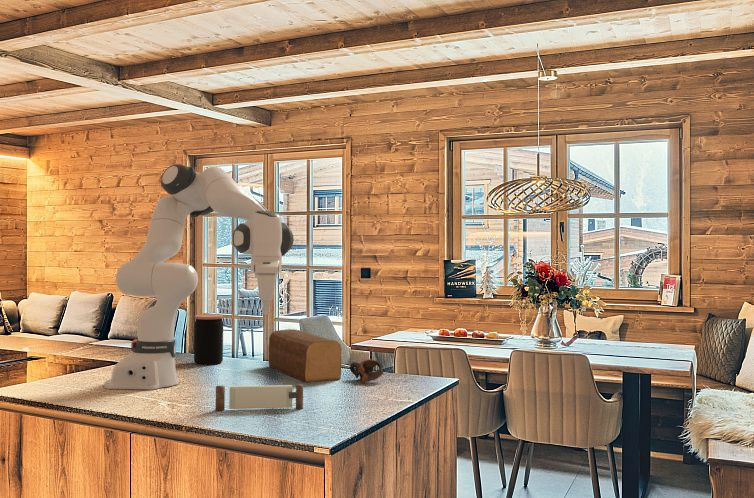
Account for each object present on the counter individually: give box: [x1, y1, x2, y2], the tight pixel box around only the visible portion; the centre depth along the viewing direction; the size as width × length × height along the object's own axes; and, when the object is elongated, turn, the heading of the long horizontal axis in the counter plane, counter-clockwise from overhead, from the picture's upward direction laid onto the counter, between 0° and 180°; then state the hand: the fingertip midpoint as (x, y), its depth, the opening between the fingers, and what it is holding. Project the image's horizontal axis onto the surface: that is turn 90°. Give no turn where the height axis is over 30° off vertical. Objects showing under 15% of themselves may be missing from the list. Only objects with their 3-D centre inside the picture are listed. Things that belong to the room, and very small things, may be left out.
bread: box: [268, 328, 343, 383], centre depth 249 cm, size 14×34×14 cm, turn 30°
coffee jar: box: [193, 313, 224, 366], centre depth 266 cm, size 11×11×18 cm
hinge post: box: [214, 385, 226, 412], centre depth 191 cm, size 2×2×6 cm
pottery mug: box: [349, 358, 384, 385], centre depth 236 cm, size 12×10×8 cm
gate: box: [228, 384, 294, 410], centre depth 193 cm, size 17×1×6 cm, turn 100°
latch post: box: [289, 383, 304, 410], centre depth 195 cm, size 4×3×6 cm, turn 100°
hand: (265, 314), depth 204 cm, fingers closed
